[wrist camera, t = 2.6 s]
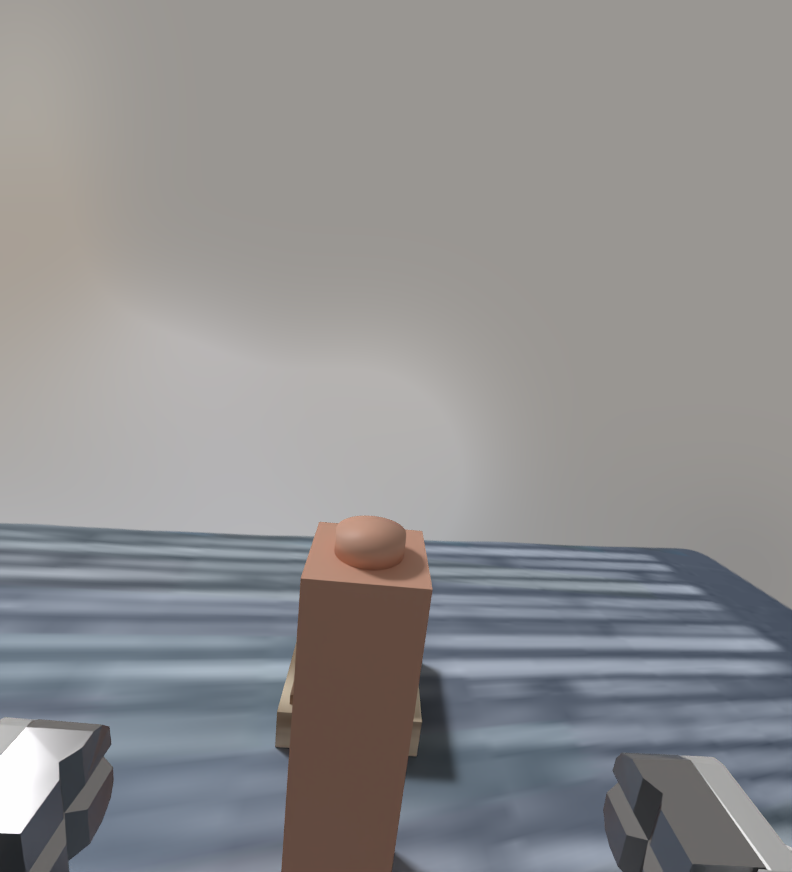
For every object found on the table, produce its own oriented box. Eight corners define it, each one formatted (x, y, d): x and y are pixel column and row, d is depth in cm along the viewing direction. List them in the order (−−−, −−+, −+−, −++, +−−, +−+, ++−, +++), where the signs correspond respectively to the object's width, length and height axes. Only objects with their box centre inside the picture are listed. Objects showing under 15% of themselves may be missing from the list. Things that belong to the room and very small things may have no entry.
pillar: (379, 953, 22) (435, 565, 17) (276, 948, 22) (302, 554, 17) (380, 840, 27) (424, 512, 22) (296, 835, 27) (320, 502, 22)
